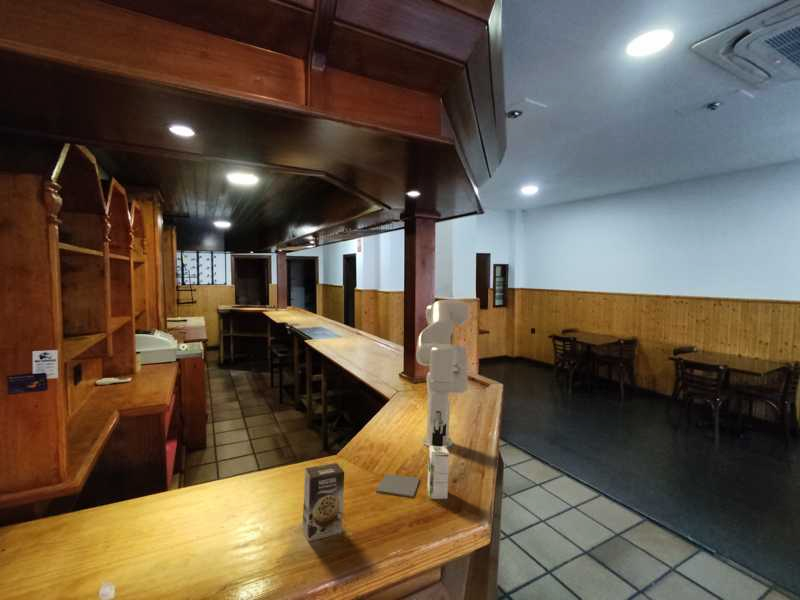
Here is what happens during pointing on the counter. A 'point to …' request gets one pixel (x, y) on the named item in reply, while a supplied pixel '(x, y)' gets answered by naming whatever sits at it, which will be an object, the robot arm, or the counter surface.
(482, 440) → the counter surface
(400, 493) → the mat
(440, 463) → the syrup box
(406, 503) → the counter surface
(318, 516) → the cookie box
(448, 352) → the robot arm
